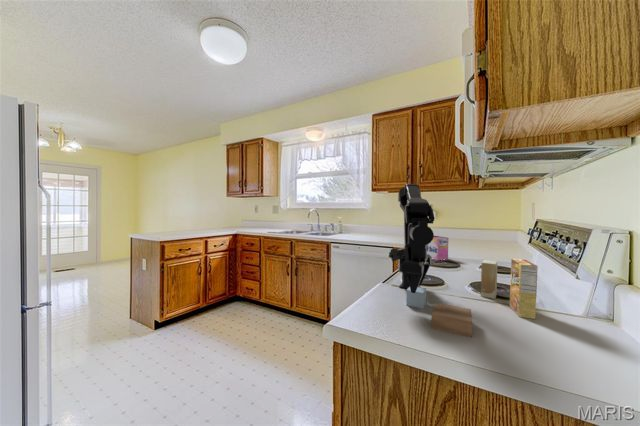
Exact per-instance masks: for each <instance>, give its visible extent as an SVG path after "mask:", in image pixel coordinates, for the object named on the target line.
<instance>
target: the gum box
mask: <svg viewBox="0 0 640 426" xmlns="http://www.w3.org/2000/svg"><path fill="white" fill-rule="evenodd" d="M427 254H429V255H430V256H431V257H432V258H433V259H437V260H441V259H448V260H449V237H445V236H440V235H434V237H433V240H432V241H431V242H430V243H429V244H428V247H427ZM433 259H432V260H433ZM437 260H436V261H437ZM441 261H442V260H441Z"/></svg>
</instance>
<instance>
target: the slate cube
mask: <svg viewBox="0 0 640 426" xmlns="http://www.w3.org/2000/svg"><path fill="white" fill-rule="evenodd" d="M405 300H406V303H405V304H406V306H408V307H413V308H418V309H422V310H423V309H424V308H425V306H426V304H427V287H426V288H424V287H421V286H419V287H418V288H417V290H416V292H415V293H411V289H410V287H409V288H408V289H406V299H405Z"/></svg>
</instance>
